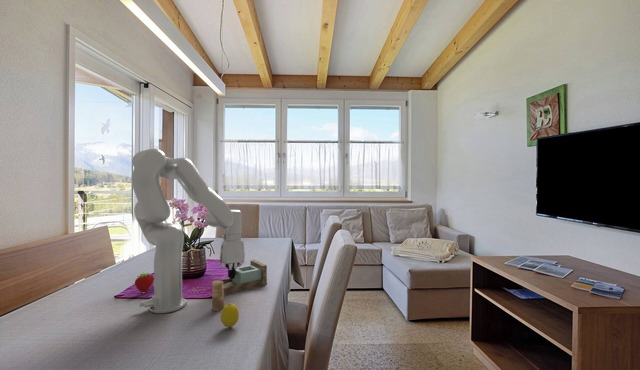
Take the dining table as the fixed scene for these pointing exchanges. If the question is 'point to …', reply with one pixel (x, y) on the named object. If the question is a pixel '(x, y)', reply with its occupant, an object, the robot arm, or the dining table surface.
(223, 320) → the lemon
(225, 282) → the track board
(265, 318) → the dining table surface
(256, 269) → the socket block
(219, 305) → the oak dowel
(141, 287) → the strawberry
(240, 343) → the dining table surface
